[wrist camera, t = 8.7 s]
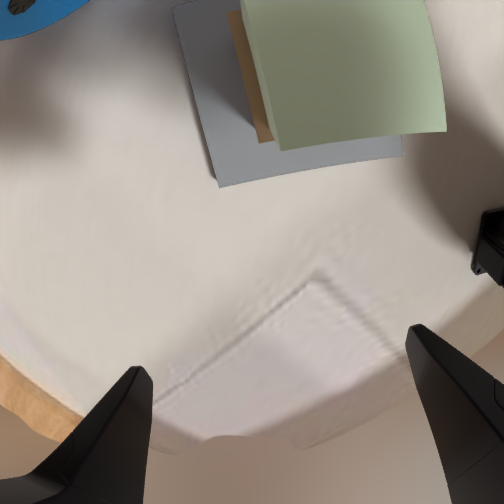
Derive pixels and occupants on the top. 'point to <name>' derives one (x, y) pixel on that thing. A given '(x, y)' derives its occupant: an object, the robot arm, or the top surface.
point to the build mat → (247, 106)
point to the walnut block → (249, 76)
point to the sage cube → (344, 69)
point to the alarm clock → (32, 15)
